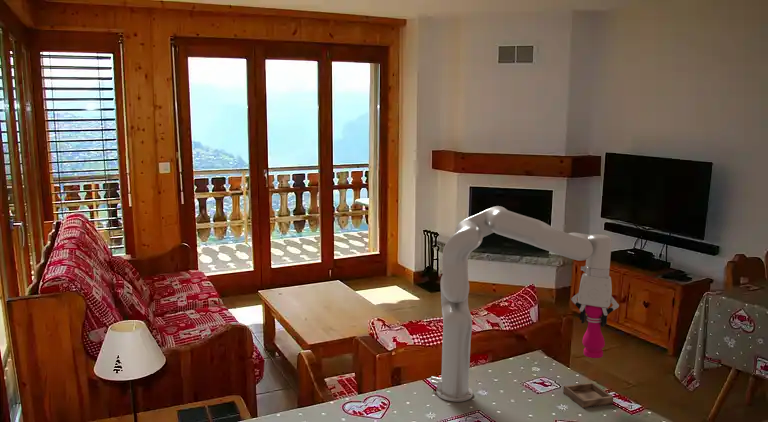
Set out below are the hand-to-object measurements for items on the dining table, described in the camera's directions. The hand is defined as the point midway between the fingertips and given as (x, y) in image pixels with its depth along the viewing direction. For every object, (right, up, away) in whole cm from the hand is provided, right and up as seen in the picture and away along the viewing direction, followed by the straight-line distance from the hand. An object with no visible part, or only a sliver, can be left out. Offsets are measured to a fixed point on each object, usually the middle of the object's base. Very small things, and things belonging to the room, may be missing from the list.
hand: (593, 323), depth 201 cm
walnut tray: (0, -27, +4) cm, 27 cm away
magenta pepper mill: (+1, -11, +2) cm, 11 cm away
